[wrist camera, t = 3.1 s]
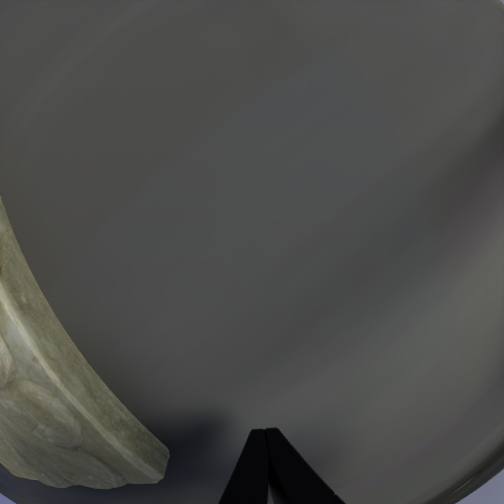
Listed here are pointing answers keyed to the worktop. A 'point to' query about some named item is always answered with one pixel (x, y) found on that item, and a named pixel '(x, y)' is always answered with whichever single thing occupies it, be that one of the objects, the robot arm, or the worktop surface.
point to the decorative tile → (60, 396)
